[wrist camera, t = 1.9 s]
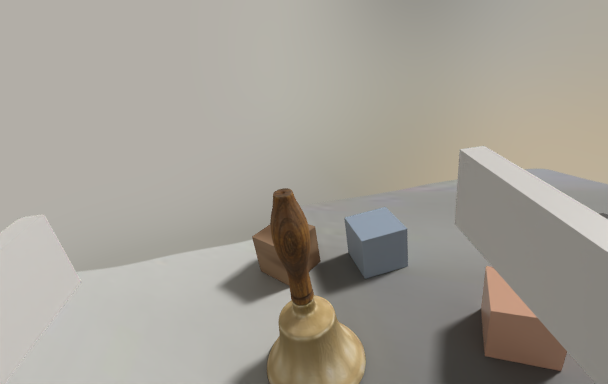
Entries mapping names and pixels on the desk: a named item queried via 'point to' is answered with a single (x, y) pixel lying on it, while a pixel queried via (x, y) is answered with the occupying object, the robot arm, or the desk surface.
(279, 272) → the walnut block
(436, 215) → the desk surface
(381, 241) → the slate-blue block
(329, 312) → the hand bell
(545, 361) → the terracotta block
